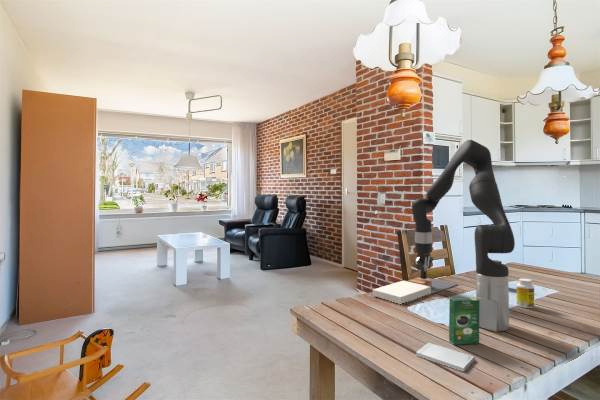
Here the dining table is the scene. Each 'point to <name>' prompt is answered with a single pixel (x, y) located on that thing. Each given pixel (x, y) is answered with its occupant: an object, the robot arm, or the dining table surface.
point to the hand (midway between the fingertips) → (423, 278)
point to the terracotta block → (421, 281)
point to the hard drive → (445, 356)
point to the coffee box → (464, 321)
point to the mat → (440, 285)
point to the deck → (402, 291)
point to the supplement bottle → (525, 293)
